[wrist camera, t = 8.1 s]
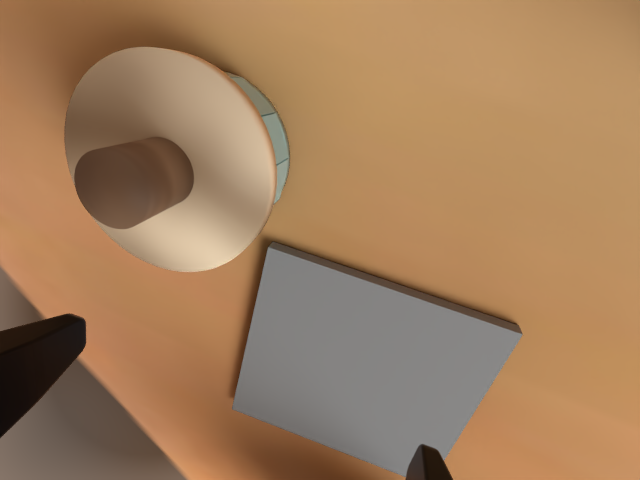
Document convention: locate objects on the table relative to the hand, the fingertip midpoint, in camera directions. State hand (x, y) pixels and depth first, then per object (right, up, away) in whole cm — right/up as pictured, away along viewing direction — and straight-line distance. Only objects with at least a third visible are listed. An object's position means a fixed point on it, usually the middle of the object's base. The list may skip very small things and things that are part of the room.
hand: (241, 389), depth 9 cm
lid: (-4, +7, +7) cm, 11 cm away
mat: (+4, -4, +14) cm, 15 cm away
